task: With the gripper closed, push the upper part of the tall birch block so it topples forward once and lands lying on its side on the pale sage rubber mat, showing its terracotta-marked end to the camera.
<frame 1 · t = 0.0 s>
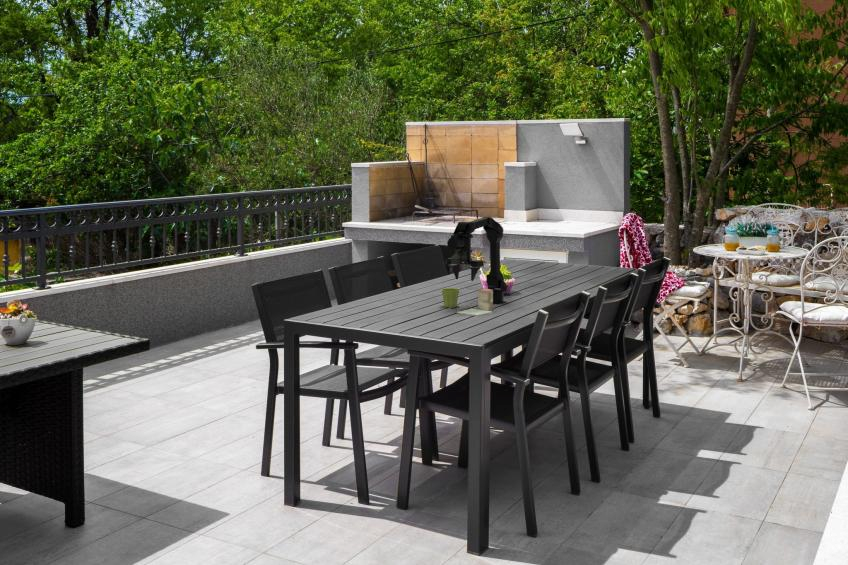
hand: (464, 280, 454), 15 cm above the table, fingers open, 9 cm apart
plant pot: (450, 307, 466), on the table
sage mat: (474, 312, 450), on the table
birch block: (485, 310, 456), on the table
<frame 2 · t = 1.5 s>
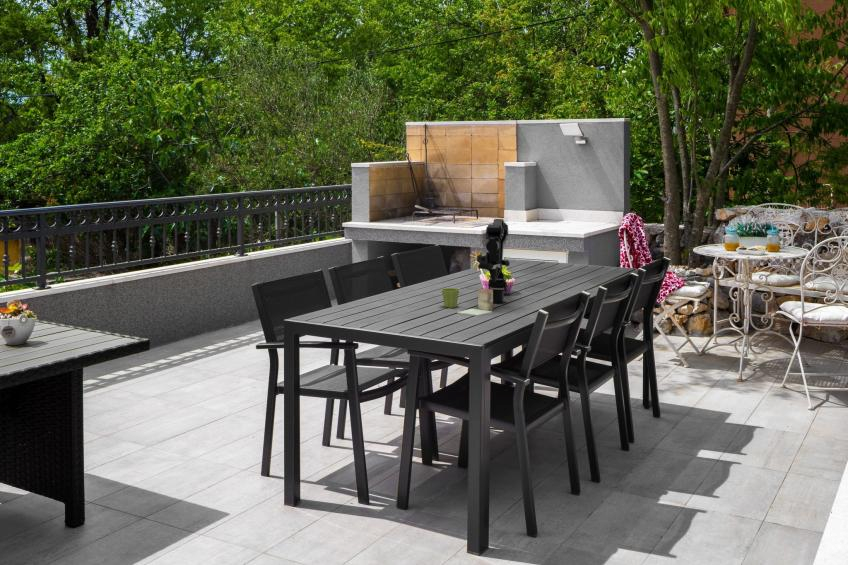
hand: (493, 281, 460), 13 cm above the table, fingers closed
nothing on the table moved.
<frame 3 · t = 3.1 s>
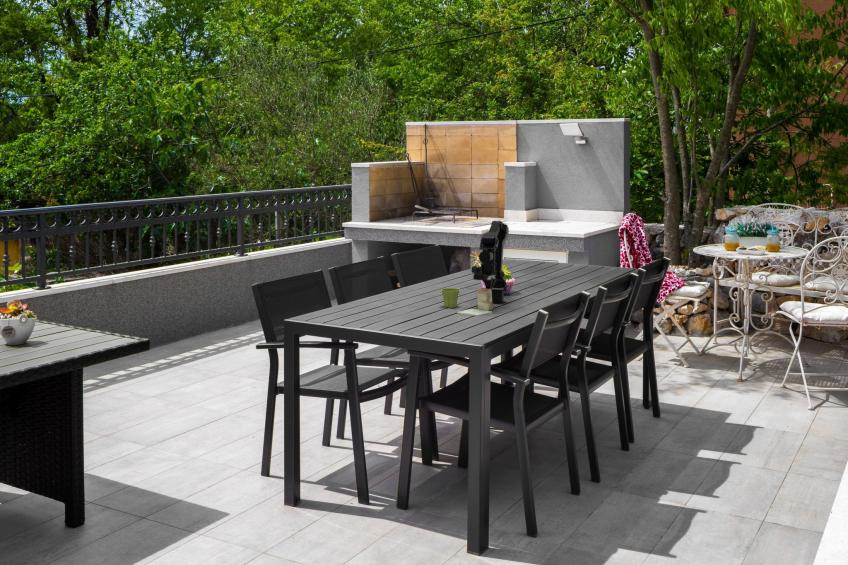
hand: (488, 293, 457), 8 cm above the table, fingers closed
birch block: (485, 309, 456), on the table, tilted 8°, touching gripper
everything else where it was.
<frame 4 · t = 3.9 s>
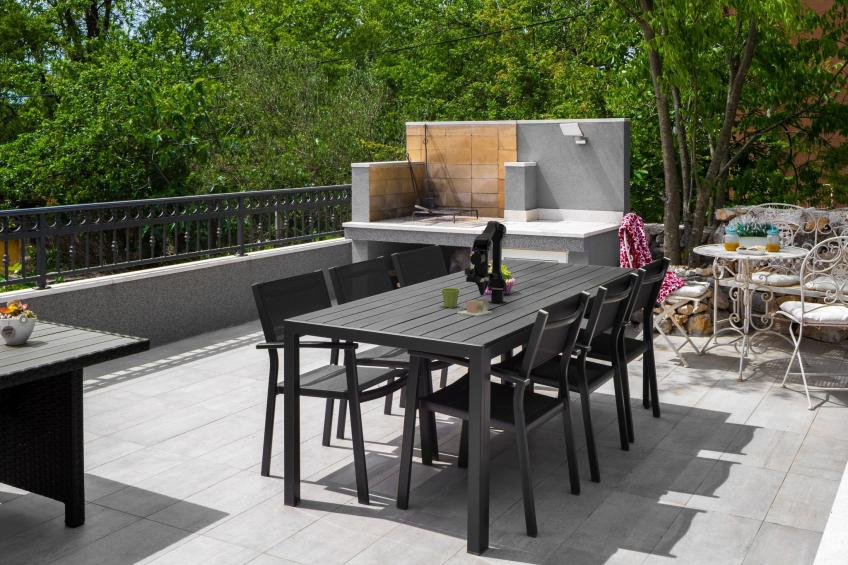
hand: (481, 295, 453), 8 cm above the table, fingers closed
birch block: (483, 304, 455), point 3 cm above the table, tilted 90°, touching sage mat
everything else where it was.
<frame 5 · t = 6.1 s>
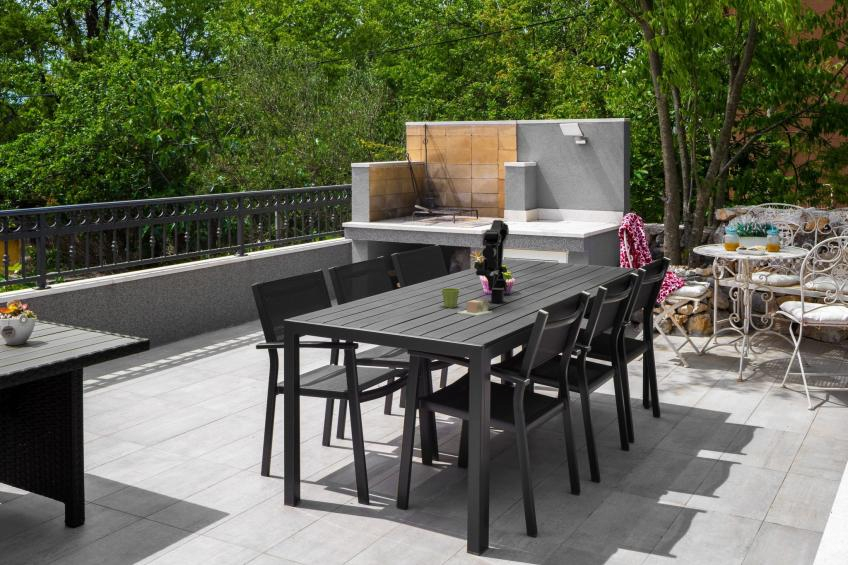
hand: (491, 288, 459), 10 cm above the table, fingers closed
nothing on the table moved.
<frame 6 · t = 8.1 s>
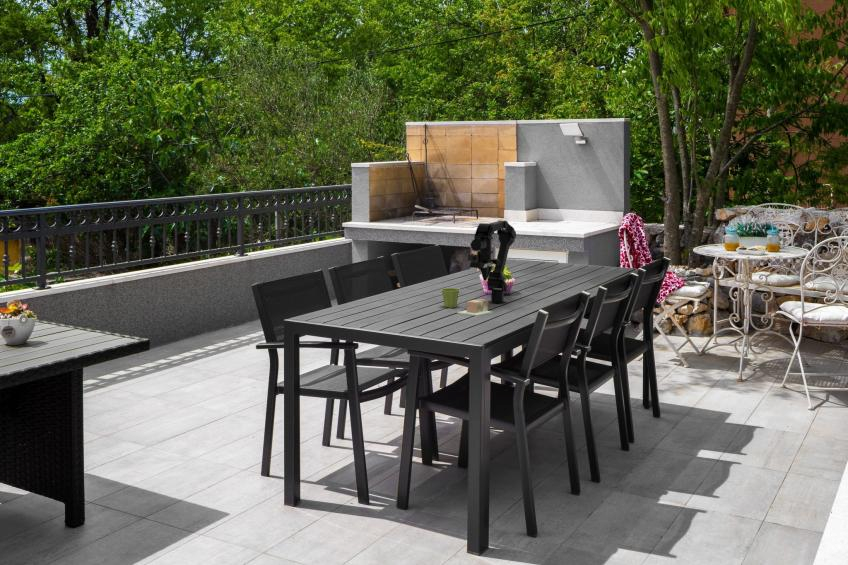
hand: (485, 280, 464), 13 cm above the table, fingers closed
nothing on the table moved.
at the end: birch block tilted 90°; birch block touching sage mat; plant pot moved 0.2 cm from its start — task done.
